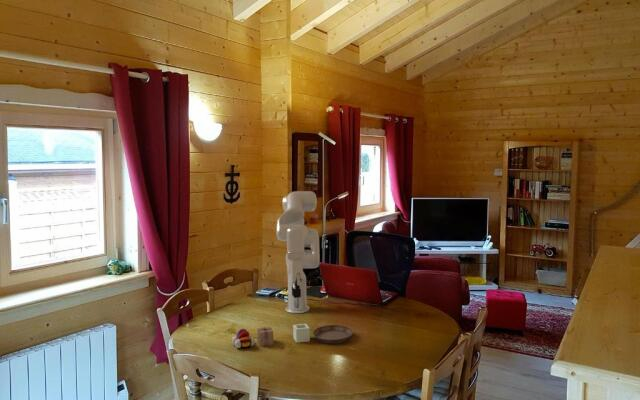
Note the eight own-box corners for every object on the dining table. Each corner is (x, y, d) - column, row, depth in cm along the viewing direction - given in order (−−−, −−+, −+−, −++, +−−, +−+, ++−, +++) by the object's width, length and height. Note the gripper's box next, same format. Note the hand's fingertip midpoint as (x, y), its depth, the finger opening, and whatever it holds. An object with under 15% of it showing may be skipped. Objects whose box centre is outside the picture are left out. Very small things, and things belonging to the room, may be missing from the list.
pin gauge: (292, 306, 234) (291, 279, 233) (299, 306, 235) (298, 279, 233) (293, 308, 231) (293, 281, 230) (300, 308, 232) (300, 280, 231)
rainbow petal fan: (237, 351, 222) (237, 334, 221) (230, 343, 230) (229, 327, 229) (256, 347, 226) (256, 331, 225) (248, 340, 234) (248, 324, 233)
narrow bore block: (257, 341, 232) (257, 328, 232) (270, 339, 234) (270, 326, 233) (259, 346, 227) (259, 332, 226) (273, 344, 228) (273, 331, 227)
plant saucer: (323, 348, 224) (322, 341, 224) (307, 334, 240) (307, 328, 240) (359, 341, 231) (359, 334, 231) (342, 328, 247) (342, 322, 247)
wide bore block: (293, 337, 236) (293, 324, 235) (306, 336, 237) (306, 323, 237) (296, 342, 230) (296, 329, 229) (309, 341, 232) (309, 327, 231)
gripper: (283, 252, 237) (284, 292, 239) (290, 259, 222) (291, 302, 224) (300, 251, 239) (300, 291, 241) (308, 258, 224) (308, 300, 225)
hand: (296, 296), depth 232 cm, fingers closed on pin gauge, 2 cm apart
